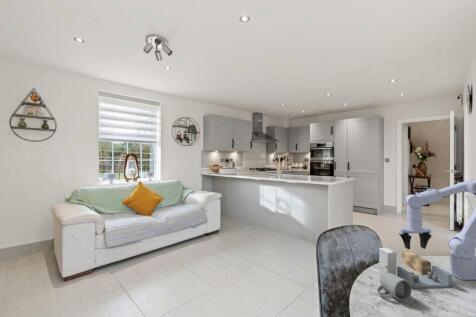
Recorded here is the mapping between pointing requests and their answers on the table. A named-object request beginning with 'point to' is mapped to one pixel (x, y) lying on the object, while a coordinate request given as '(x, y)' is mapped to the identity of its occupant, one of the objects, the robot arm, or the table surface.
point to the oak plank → (416, 262)
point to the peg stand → (426, 278)
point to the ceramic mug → (394, 287)
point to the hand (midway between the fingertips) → (415, 248)
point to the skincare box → (387, 261)
